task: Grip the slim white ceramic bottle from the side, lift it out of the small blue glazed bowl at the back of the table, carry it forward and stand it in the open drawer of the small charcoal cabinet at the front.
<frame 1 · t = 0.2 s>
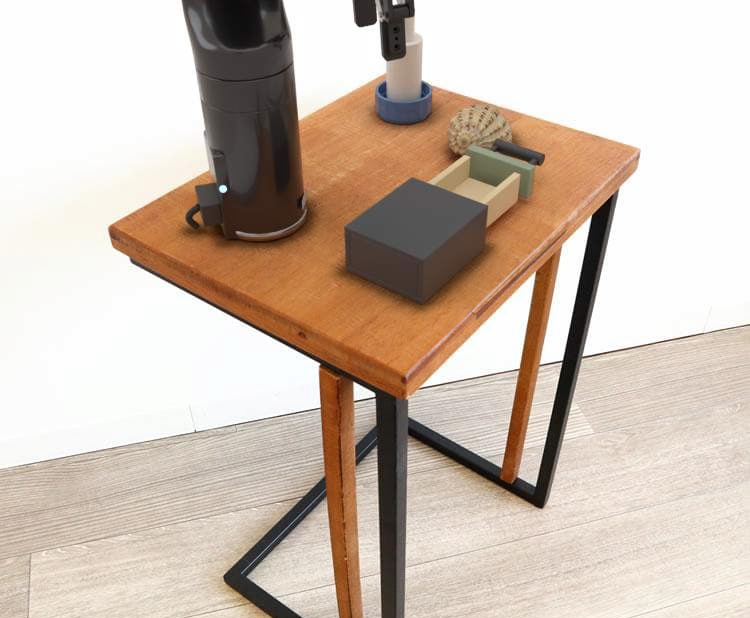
hand: (379, 41, 82), 17 cm above the table, tool pointing down, fingers open, 8 cm apart
drawer: (487, 181, 91), point 3 cm above the table, slide at 9.5 cm
cabinet: (416, 259, 85), on the table
bottle: (403, 108, 108), resting on bowl
seashell: (478, 147, 101), on the table
bowl: (403, 112, 108), on the table
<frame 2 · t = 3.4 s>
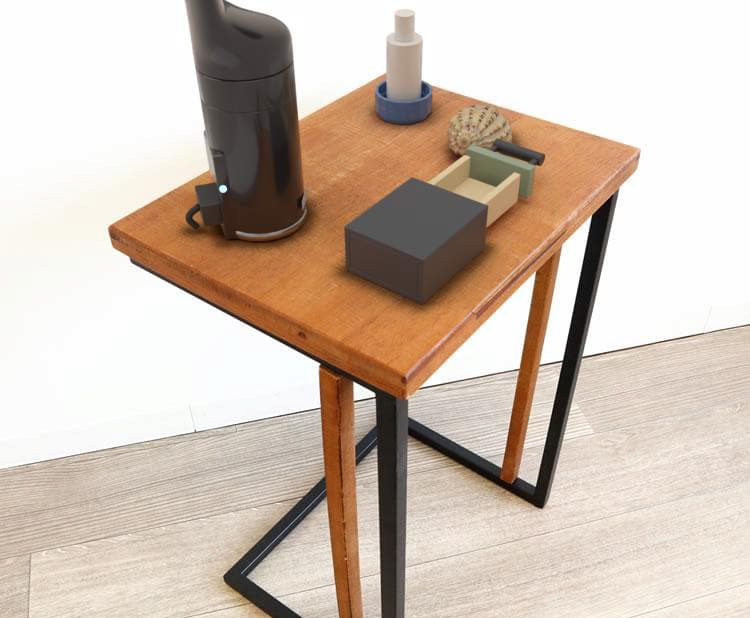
nothing on the table moved.
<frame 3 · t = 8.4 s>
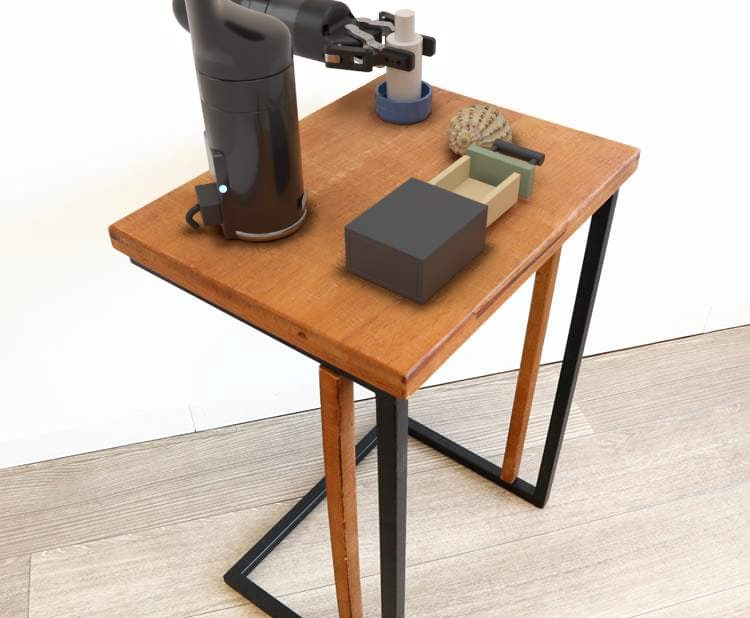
hand: (423, 54, 101), 8 cm above the table, tool horizontal, fingers closed on bottle, 4 cm apart
bottle: (403, 108, 108), point 1 cm above the table, touching bowl, gripper
everything else where it was.
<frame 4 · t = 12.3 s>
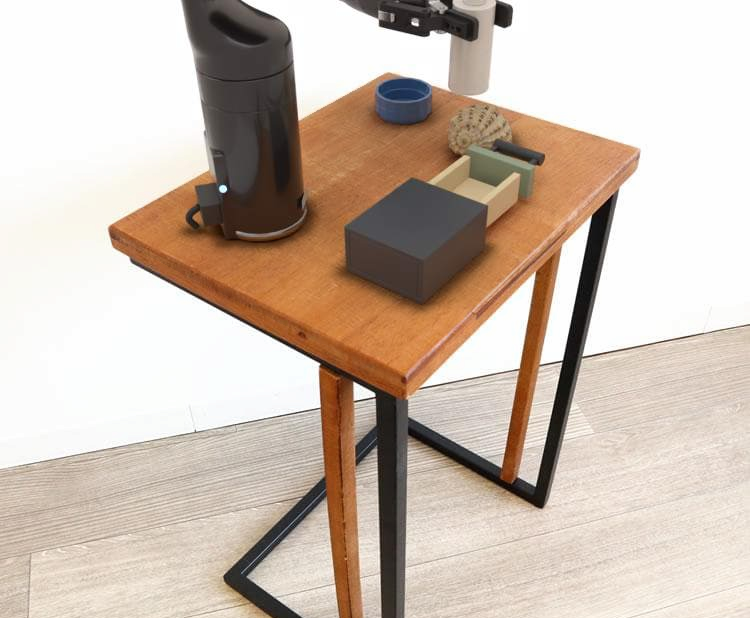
hand: (493, 24, 85), 17 cm above the table, tool horizontal, fingers closed on bottle, 4 cm apart
bottle: (468, 86, 91), point 10 cm above the table, touching gripper
everything else where it was.
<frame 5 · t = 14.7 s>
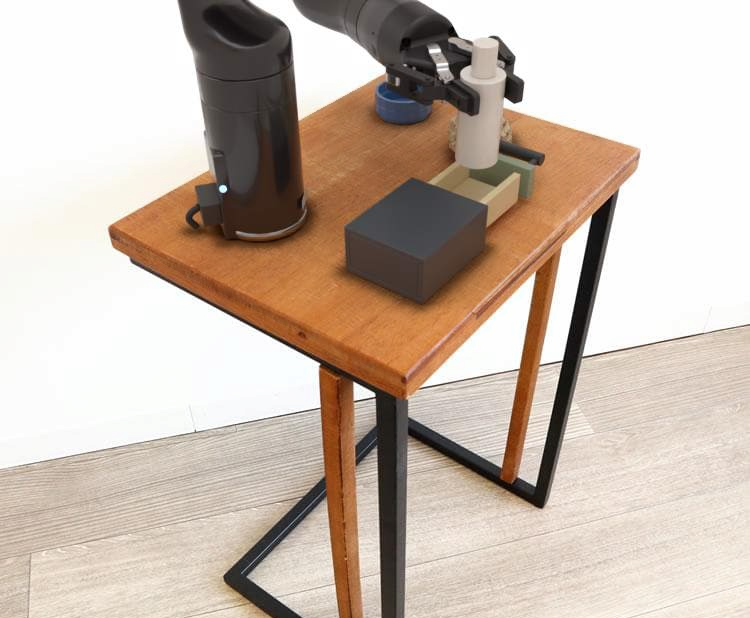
hand: (498, 99, 80), 14 cm above the table, tool horizontal, fingers closed on bottle, 4 cm apart
bottle: (476, 158, 86), point 6 cm above the table, touching gripper
everything else where it was.
when the fingers open (9 cm above the table, at t = 16.5 s): bottle stays where it is, resting on drawer.
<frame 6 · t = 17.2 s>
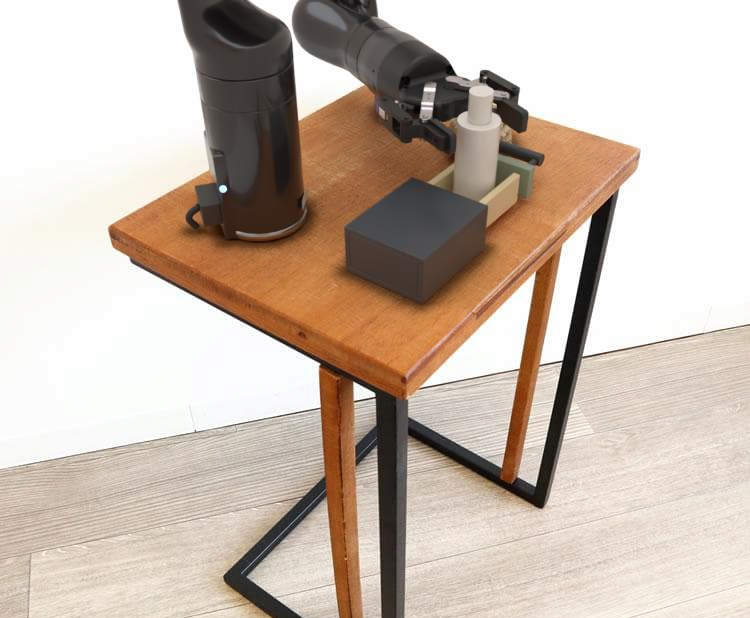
hand: (489, 134, 83), 10 cm above the table, tool horizontal, fingers open, 8 cm apart
drawer: (486, 181, 90), point 3 cm above the table, slide at 9.4 cm, touching bottle
bottle: (472, 198, 90), point 2 cm above the table, touching drawer
everything else where it was.
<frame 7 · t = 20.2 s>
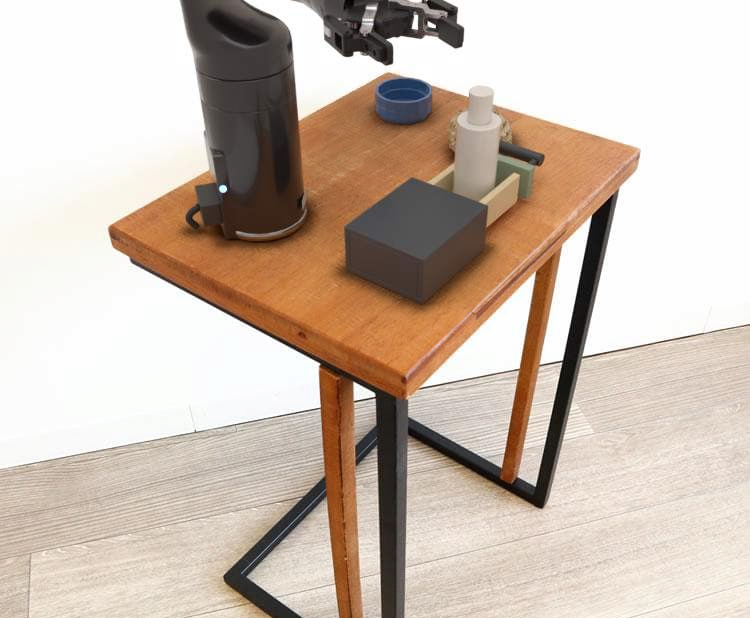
hand: (426, 47, 87), 15 cm above the table, tool horizontal, fingers open, 8 cm apart
nothing on the table moved.
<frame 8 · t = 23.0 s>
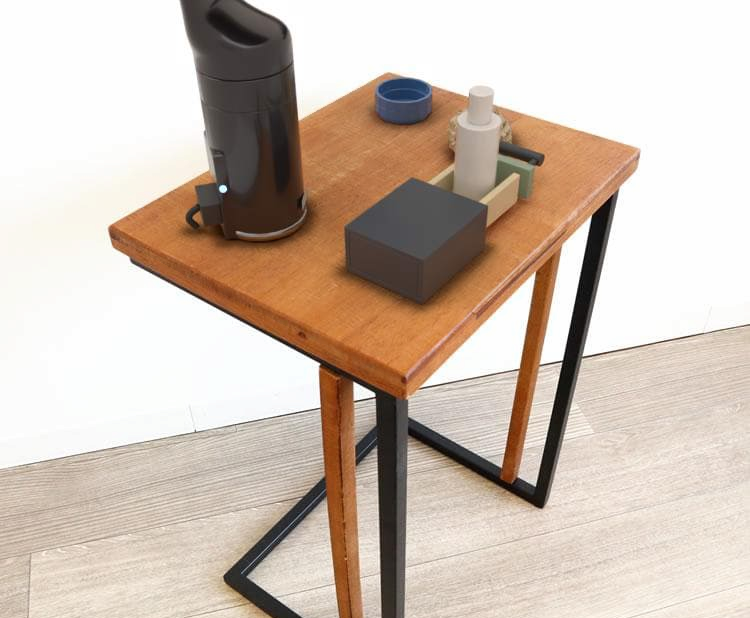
nothing on the table moved.
at the end: bottle 0.0 cm from the target spot in the drawer, point 1.8 cm above the cabinet's base; bottle tilted 0°; bottle touching drawer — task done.
